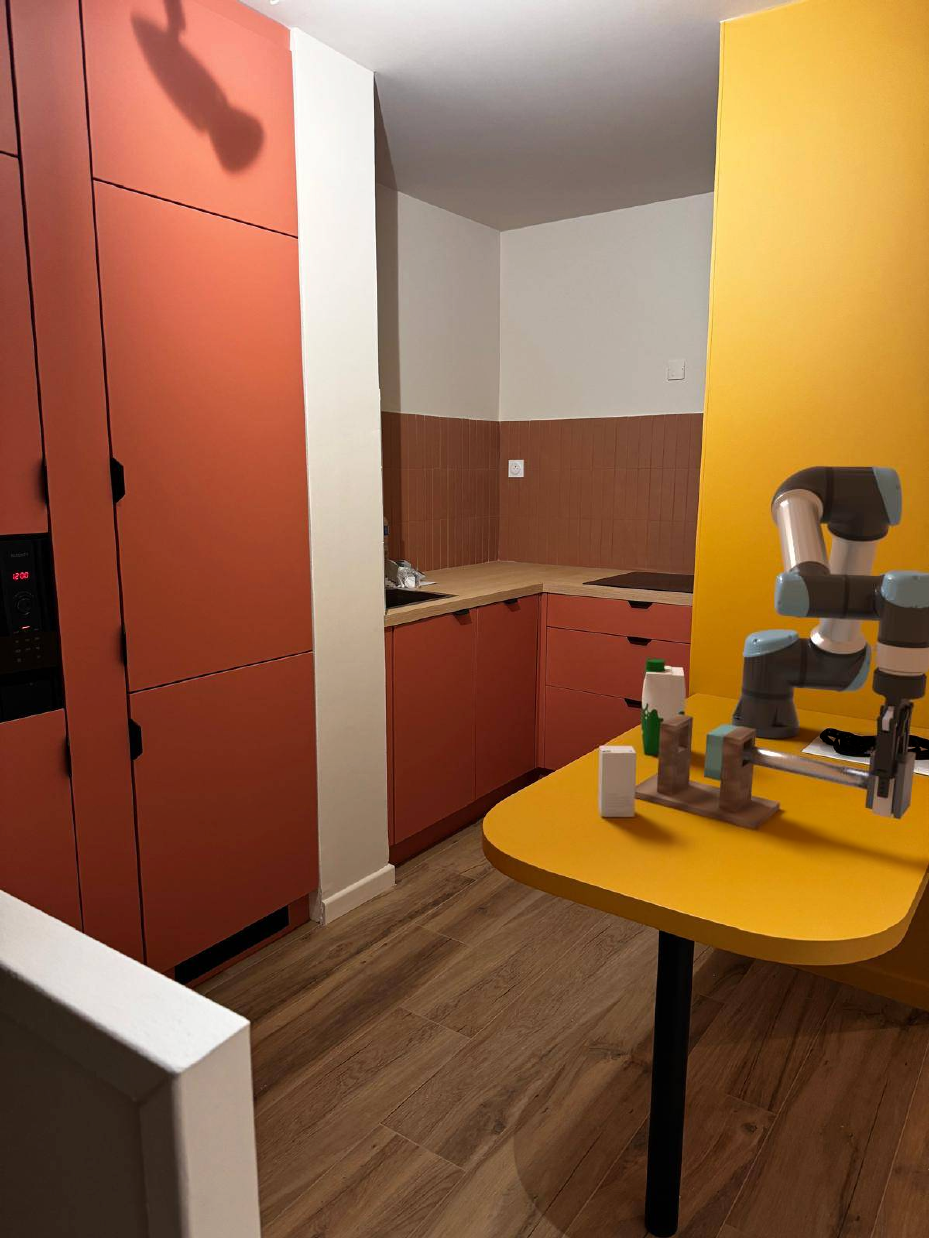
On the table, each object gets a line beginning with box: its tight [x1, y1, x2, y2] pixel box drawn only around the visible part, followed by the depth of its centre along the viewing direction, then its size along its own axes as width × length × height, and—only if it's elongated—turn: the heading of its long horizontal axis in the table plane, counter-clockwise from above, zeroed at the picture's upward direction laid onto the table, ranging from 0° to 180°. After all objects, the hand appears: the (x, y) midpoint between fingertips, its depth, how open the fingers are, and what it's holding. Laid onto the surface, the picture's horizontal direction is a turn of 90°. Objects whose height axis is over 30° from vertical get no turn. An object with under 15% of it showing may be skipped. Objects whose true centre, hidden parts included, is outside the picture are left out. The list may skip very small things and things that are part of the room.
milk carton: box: [640, 657, 687, 756], centre depth 187 cm, size 9×9×20 cm
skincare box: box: [597, 745, 637, 818], centre depth 154 cm, size 6×4×12 cm
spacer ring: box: [703, 723, 738, 782], centre depth 157 cm, size 3×8×8 cm, turn 142°
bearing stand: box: [635, 714, 781, 831], centre depth 159 cm, size 24×12×15 cm, turn 52°
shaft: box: [742, 744, 917, 820], centre depth 147 cm, size 30×7×9 cm, turn 52°
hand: (885, 809), depth 141 cm, fingers closed on shaft, 4 cm apart
